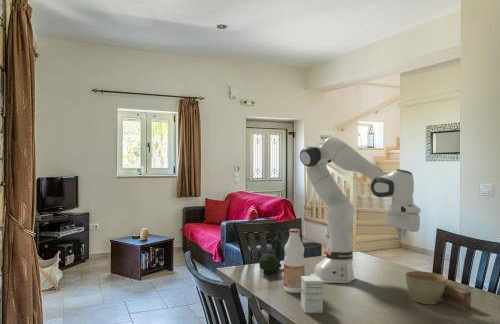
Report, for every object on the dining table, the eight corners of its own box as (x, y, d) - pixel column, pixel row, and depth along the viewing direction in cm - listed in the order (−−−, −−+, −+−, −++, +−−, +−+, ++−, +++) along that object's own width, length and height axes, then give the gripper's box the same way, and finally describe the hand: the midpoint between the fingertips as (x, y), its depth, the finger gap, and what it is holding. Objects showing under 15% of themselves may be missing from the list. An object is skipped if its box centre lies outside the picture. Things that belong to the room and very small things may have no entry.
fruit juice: (293, 294, 178) (293, 231, 178) (279, 289, 186) (280, 229, 186) (308, 291, 184) (309, 230, 184) (294, 286, 191) (295, 227, 192)
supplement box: (300, 306, 164) (300, 275, 164) (318, 306, 164) (318, 275, 164) (304, 313, 156) (304, 280, 156) (323, 312, 157) (323, 280, 157)
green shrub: (270, 269, 228) (253, 276, 205) (271, 235, 230) (255, 239, 207) (286, 271, 224) (271, 278, 201) (287, 237, 226) (272, 240, 203)
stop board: (462, 310, 161) (462, 292, 161) (424, 291, 184) (424, 276, 184) (470, 309, 162) (470, 292, 162) (431, 291, 185) (432, 276, 185)
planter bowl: (446, 310, 161) (446, 283, 161) (403, 303, 168) (403, 277, 168) (446, 298, 175) (446, 273, 175) (407, 293, 182) (407, 269, 182)
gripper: (383, 204, 185) (382, 234, 185) (409, 209, 164) (408, 243, 165) (395, 204, 186) (394, 233, 186) (423, 209, 166) (422, 243, 166)
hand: (401, 238), depth 175 cm, fingers closed
